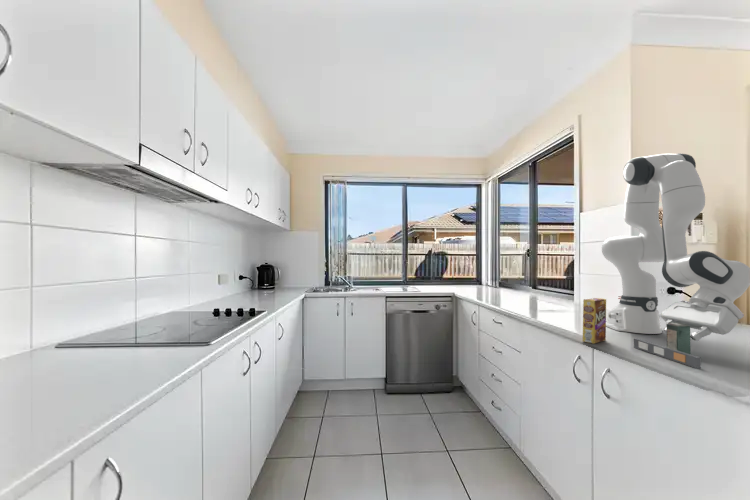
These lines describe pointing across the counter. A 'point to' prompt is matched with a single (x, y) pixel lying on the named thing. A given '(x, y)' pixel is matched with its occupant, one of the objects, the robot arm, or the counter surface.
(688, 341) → the tea tin
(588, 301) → the candy box
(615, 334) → the counter surface
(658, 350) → the rail
